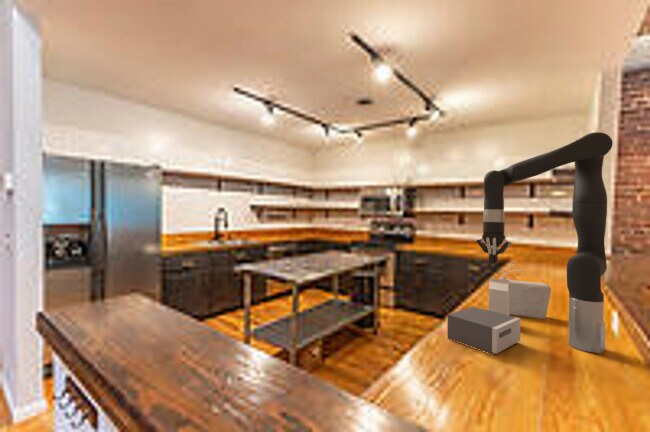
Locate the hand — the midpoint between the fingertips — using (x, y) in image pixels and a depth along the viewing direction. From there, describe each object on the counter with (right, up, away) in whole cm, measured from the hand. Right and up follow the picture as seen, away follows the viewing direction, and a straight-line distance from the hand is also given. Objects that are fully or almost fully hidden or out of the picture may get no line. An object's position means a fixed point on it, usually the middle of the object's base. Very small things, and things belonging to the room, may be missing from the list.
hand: (493, 263), depth 119 cm
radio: (+25, -28, +20) cm, 42 cm away
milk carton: (+8, -27, +9) cm, 30 cm away
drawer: (-9, -26, -11) cm, 29 cm away
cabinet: (-10, -27, -9) cm, 30 cm away
